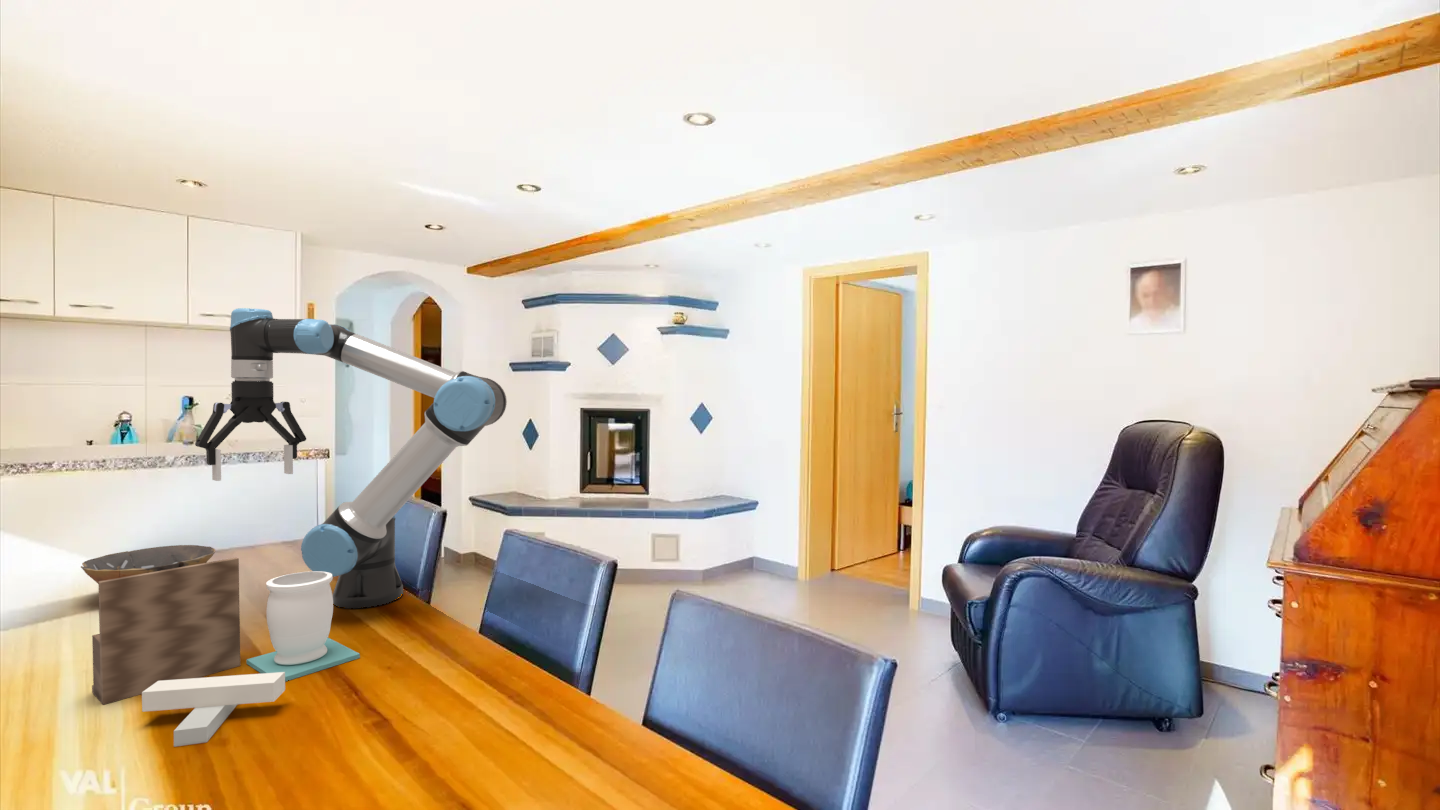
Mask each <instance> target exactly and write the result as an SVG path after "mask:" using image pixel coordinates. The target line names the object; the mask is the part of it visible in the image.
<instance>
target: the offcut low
mask: <svg viewBox="0 0 1440 810" xmlns="http://www.w3.org/2000/svg"><path fill="white" fill-rule="evenodd" d="M238 705H239V704H235V705H222V706H209V707H196V708H193V710H192V711H191V712H189V714H188V715H187V716H186V717H185V718H184V719H183V720H182V721H181V722H180V723H179V724H178V726H177V727H176V728H175V729H174V730H173V747H181V746H188V745H197V744H205V743H208V742H209V740H210V739H211V738H212V737H213V736H214V734H215V733H216V732H217V731H218V730H219V728H220V727H221V726H222V724H223V723H224V722H225V721H226V719H227V718H228V717H229V716H230V715H231V713H232V712H233V711H234V710H235V708H236V707H237V706H238Z"/></svg>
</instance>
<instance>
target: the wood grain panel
mask: <svg viewBox="0 0 1440 810" xmlns="http://www.w3.org/2000/svg"><path fill="white" fill-rule="evenodd" d="M239 563H240V558H239V557H230V558H225V559H219V560H215V561H209V562H208V561H207V562H206V563H202V564H196V565H190V566H185V567H179V568H173V569H167V570H162V571H156V572H150V573H144V574H139V575H133V576H127V577H121V578H116V579H110V580H104V581H98V583H97V584H98V585H97V586H98V616H99V618H98V621H99V624H98V625H99V630H98V631H99V633H97V634H96V633H95V634H92V636H91V637H92V641H91V642H92V674H93V675H92V681H93V682H92V684H93V685H91V693H92V694H93V696H95V697H97V698H96V699H97V700H98V701H99V702H100V704H101V705H102V706H104V705H108V704H111V703H115V702H118V701H121V700H126V699H128V698H129V699H130V698H132V697H136V696H139V695H142V692H143V691H144V690H146V689H147V688H149V687H150V686H152V685H153V684H154V683H156V682H157V681H162V680H176V679H191V678H203V677H205V676H206V677H207V676H208V675H212V674H213V675H214V674H216V673H219V672H223V671H226V670H227V671H228V670H230V669H234V668H236V667H240V666H241V634H240V633H241V630H240V629H241V626H240V625H241V624H240V623H241V618H240V616H241V613H240V612H241V611H240V564H239Z"/></svg>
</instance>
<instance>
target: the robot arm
mask: <svg viewBox="0 0 1440 810" xmlns="http://www.w3.org/2000/svg"><path fill="white" fill-rule="evenodd" d="M229 331H230V348H231V352H230V354H231V356H230V357H231V359H230V362H231V363H230V364H231V365H230V367H231V368H230V373H231V374H230V377H231V379H234V380H233V381H232V382H231V385H230V386H231V387H230V388H231V401H230V403H224V402H218V401H217V402H214V403H213V407H212V413H211V415H210V416H209V418H208V420H207V421H206V424H205V425H204V427H203V429H202V431H201V432H200V434H199V435H198V437H197V439H196V441H195V443H194V446H195V447H197V448H202V449H205V452H206V454H205V455H206V458H205V459H206V464H207V465H209V466H211V467H212V468H211V472H212V475H211V477H212V481H216V482H221V481H222V457H221V456H222V453H221V451H222V450H221V449H219V446H220V445H221V444H222V443H223V442H224V440H226V438H228V437H229V435H230V434H231V433H232V432H233V431H234V430H235V429H236V428H237V427H238V426H240V425H241V423H244V424H251V423H264V422H265V423H267V424H268V425H269V426H270V427H271V428H272V429H273V430H274V431H275V432H276V433H277V434H278V436H280V437H281V438H282V439H283V440H284V442H286V443H287V444H283V470H284V471H283V473H284V474H286V475H293V474H294V459H295V460H296V459H297V457H298V445H299V444H300V443H302V442H306V441H307V436H306V435H305V433H304V431H303V430H302V428H301V427H300V424H299V423H298V420H296V418H295V416H294V414H293V413H292V410H291V404H290V402H289V401H280V402H275V400H274V382H273V381H271V379H273V378H274V360H273V359H274V357H273V356H274V354H305V355H313V356H314V355H315V356H325V357H327V358H329V359H333V360H336V361H338V362H341V363H343V364H347V365H349V366H352V367H355V368H356V369H357V368H358V369H360V370H362V371H364V372H367V373H370V374H373V376H377V377H380V378H383V379H385V380H387V381H390V382H393V383H396V384H398V385H401V386H403V387H405V388H408V389H410V390H412V391H416V392H418V393H421V394H423V395H426V396H428V397H431V398H433V403H431V405H430V406H429V407H428V408H427V409H426V410H425V411H424V423H423V424H422V425H421V426H420V427H419V428H418V430H417V431H416V432H415V433H414V434H413V435H412V436H411V438H409V440H407V442H406V443H405V444H403V446H402V447H401V448H400V449H399V450H398V451H397V452H396V453H395V455H394V456H393V457H391V459H390V460H389V462H387V463H386V464H385V466H384V467H383V468H382V469H381V470H380V471H379V472H378V474H377V475H376V476H375V477H373V478H372V480H371V481H370V482H369V483H368V484H367V486H365V488H364V489H363V490H362V491H360V493H359V494H358V495H357V496H356V497H355V498H354V500H353V501H345V502H341V504H339V506H337V508H336V509H335V510H334V511H333V512H332V513H331V514H330V515H329V517H328V518H326V519H325V521H323V522H322V523H321V524H318V525H316V526H314V527H313V528H311V529H310V530H309V531H308V532H307V533H306V534H305V535H304V537H303V538H302V542H301V545H300V551H301V557H302V560H303V563H304V564H305V566H306V567H307V568H308V569H309V570H310V571H322V572H329V573H331V574H332V576H333V578H334V577H338V578H337V581H336V583H335V587H334V589H333V591H332V595H333V604H334V605H336V606H339V607H338V608H340V607H345V608H344V609H351V608H353V609H364V608H363V607H367V608H372V607H371V606H374V607H378V606H377V605H379V606H383V605H382V604H384V605H387V604H390V603H392V602H391V601H393V600H395V599H397V598H398V597H400V596H401V594H403V595H404V585H403V582H402V580H401V576H400V574H399V571H398V568H397V567H396V558H395V557H396V516H395V515H396V514H397V513H398V512H399V511H400V510H401V509H402V508H403V507H404V505H405V504H407V502H408V501H409V500H410V499H411V497H413V496H414V495H415V493H417V491H418V490H419V489H420V488H421V487H422V486H423V485H424V484H425V482H427V480H428V479H429V478H430V477H431V476H432V475H433V473H434V472H435V471H437V469H438V468H439V467H440V465H441V464H443V462H444V461H445V460H446V459H447V458H448V457H449V456H450V455H451V453H453V451H454V450H456V448H457V447H458V448H459V447H466V446H468V445H470V443H471V442H472V441H473V440H474V439H475V437H477V436H478V434H480V432H481V431H482V430H483V429H484V428H485V427H487V426H490V425H493V424H494V423H496V422H497V421H499V420H500V419H501V418H502V416H503V415H504V413H505V411H506V408H507V402H508V401H507V396H506V392H505V391H504V389H503V387H502V386H501V385H500V384H499V383H498V382H497V381H495V380H493V379H491V378H488V377H483V376H478V375H474V374H472V373H469V372H467V371H464V370H460V371H458V372H454V371H453V370H449V369H447V368H445V367H442V366H440V365H437V364H435V363H432V362H429V361H427V360H424V359H422V358H420V357H417V356H414V355H411V354H408V353H407V352H403V351H401V350H400V349H396V348H393V347H392V346H391V347H390V346H389V345H386V344H383V343H381V342H378V341H376V340H373V339H371V338H368V337H365V336H363V335H360V334H358V333H355V332H352V331H351V330H350V329H348V328H346V327H345V326H342V325H338V324H330V323H329V322H328V321H327V320H324V319H317V318H316V319H315V318H274V317H273V312H272V311H271V310H269V309H264V308H263V309H262V308H248V307H247V308H246V307H242V308H235V309H233V310H232V311H231V313H230V327H229ZM276 409H277V411H278V412H280V414H281V415H282V417H283V419H284V421H285V423H286V424H287V426H288V428H289V429H290V431H291V432H290V431H288V430H287V428H285V427H284V426H283V425H282V423H281V422H279V420H278V419H277V418H276V417H275V416H274V415H273V414H272V413H274V411H275V410H276ZM229 410H230V412H231V413H232V414H233V415H232V416H231V417H230V418H229V419H228V421H227V422H226V423H225V424H224V425H223V426H222V428H220V429H219V430H218V432H217V433H216V434H215V435H214V436H213V437H212V438H211V436H212V435H213V433H215V432H214V431H215V430H216V429H217V427H218V425H219V423H220V421H221V420H222V418H223V415H224V414H226V413H227V412H228V411H229ZM291 433H292V434H291ZM217 448H218V449H217ZM389 602H390V603H389ZM393 602H394V601H393ZM386 603H387V604H386ZM334 605H333V606H334ZM336 606H335V607H336ZM361 607H362V608H361Z"/></svg>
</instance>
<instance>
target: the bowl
mask: <svg viewBox="0 0 1440 810" xmlns="http://www.w3.org/2000/svg"><path fill="white" fill-rule="evenodd" d="M215 553H216V549H215V548H214V547H212V546H205V545H196V544H178V545H166V546H165V545H164V546H163V545H162V546H154V547H147V548H141V549H133V550H130V551H129V550H126V551H122V552H120V551H119V552H114V553H110V554H105V555H103V556H100V557H99V556H98V557H95V558H91V559H88V560H86V561H83V562H82V565H81V566H80V568H81V570H82V571H83V572H84V573H85V574H86V575H87V577H90V579H91V580H93V581H94V582H95V583H96V584H98V581H104V580H110V579H116V578H121V577H127V576H133V575H139V574H144V573H150V572H156V571H162V570H167V569H173V568H179V567H185V566H190V565H196V564H202V563H208V561H209V560H211V558H212V557H213V556H214V555H215Z"/></svg>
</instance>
